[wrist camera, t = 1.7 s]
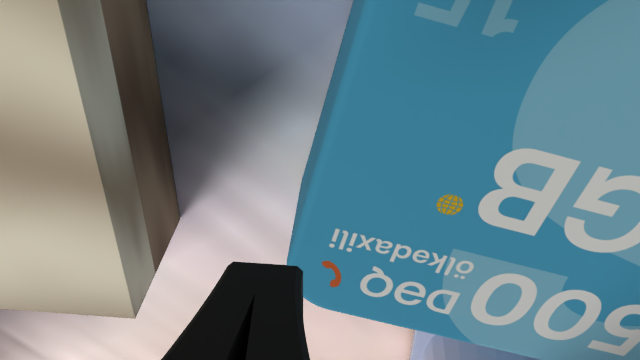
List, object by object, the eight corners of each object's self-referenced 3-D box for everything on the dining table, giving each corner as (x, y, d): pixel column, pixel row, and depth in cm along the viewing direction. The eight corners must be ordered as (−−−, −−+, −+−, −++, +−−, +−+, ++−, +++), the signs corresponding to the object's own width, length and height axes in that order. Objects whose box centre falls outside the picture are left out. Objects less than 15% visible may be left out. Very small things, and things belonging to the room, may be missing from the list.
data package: (962, 44, 12) (635, 385, 18) (820, -18, 15) (591, 285, 22) (402, -125, 11) (274, 300, 17) (395, -147, 14) (292, 211, 21)
